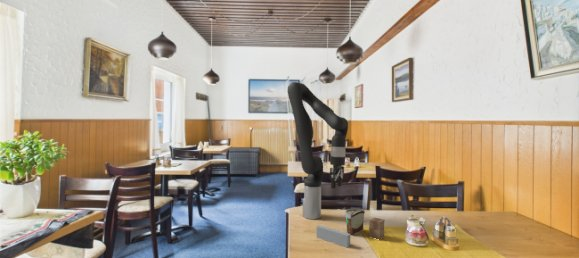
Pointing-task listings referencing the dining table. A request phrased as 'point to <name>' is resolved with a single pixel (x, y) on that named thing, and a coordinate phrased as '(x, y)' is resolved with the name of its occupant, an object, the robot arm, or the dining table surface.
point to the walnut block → (376, 228)
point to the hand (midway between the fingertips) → (336, 187)
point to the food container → (354, 220)
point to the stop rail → (333, 236)
